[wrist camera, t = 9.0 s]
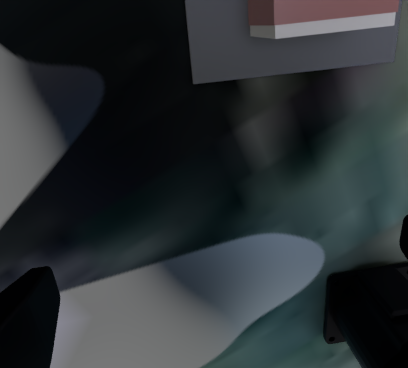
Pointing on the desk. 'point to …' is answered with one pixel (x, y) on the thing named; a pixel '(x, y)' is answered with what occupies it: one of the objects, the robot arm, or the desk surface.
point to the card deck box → (317, 16)
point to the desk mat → (273, 45)
